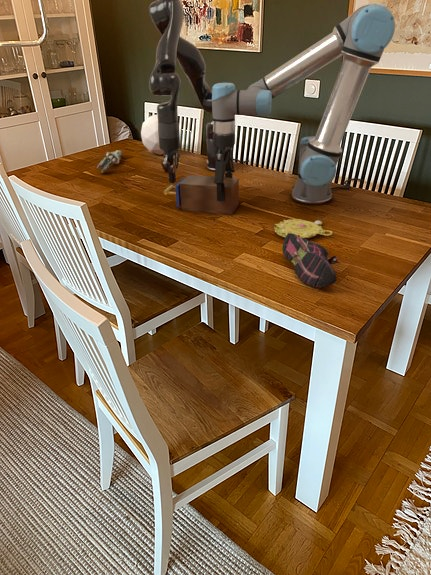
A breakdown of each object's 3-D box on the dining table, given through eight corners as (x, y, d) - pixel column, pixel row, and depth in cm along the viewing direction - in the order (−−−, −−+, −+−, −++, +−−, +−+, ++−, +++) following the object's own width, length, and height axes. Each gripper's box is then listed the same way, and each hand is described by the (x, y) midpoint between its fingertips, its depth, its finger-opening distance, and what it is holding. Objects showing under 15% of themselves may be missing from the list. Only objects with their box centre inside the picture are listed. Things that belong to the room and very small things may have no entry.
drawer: (163, 205, 167) (161, 184, 162) (172, 197, 174) (170, 176, 170) (223, 210, 161) (222, 189, 157) (229, 201, 168) (229, 180, 164)
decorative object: (286, 211, 157) (342, 219, 147) (286, 217, 158) (341, 226, 148) (260, 233, 142) (319, 243, 133) (260, 240, 144) (319, 251, 134)
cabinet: (181, 210, 165) (179, 183, 160) (190, 200, 173) (189, 174, 168) (231, 215, 160) (231, 187, 155) (238, 204, 168) (238, 178, 163)
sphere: (153, 165, 235) (133, 132, 232) (185, 147, 237) (165, 113, 235) (153, 156, 216) (131, 120, 214) (188, 137, 218) (167, 100, 216)
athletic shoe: (323, 277, 110) (361, 269, 114) (285, 218, 122) (321, 213, 126) (307, 304, 119) (343, 296, 123) (273, 246, 130) (307, 241, 135)
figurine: (101, 154, 197) (119, 141, 223) (91, 167, 200) (110, 152, 227) (114, 165, 199) (130, 151, 225) (103, 178, 203) (121, 162, 229)
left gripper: (166, 130, 163) (169, 176, 172) (151, 138, 152) (156, 187, 161) (185, 131, 161) (187, 177, 170) (172, 140, 150) (175, 189, 159)
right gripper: (222, 125, 161) (223, 184, 173) (203, 141, 142) (205, 205, 154) (242, 125, 159) (242, 185, 171) (225, 142, 140) (226, 207, 152)
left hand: (172, 182), depth 166 cm, fingers closed
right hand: (224, 195), depth 162 cm, fingers closed on cabinet, 10 cm apart
